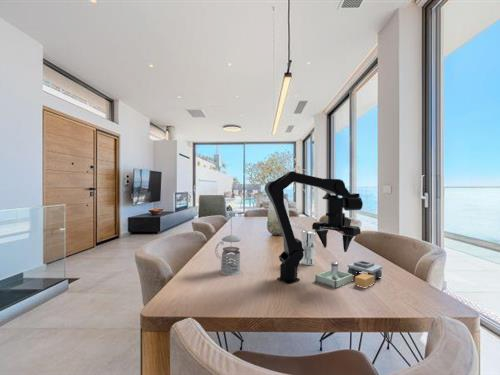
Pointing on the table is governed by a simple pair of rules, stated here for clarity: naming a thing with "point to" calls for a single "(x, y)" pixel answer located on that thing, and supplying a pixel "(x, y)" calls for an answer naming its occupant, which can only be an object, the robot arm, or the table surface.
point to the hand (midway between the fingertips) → (335, 249)
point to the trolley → (365, 268)
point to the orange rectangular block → (364, 280)
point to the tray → (327, 280)
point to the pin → (334, 270)
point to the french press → (230, 256)
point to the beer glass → (308, 247)
